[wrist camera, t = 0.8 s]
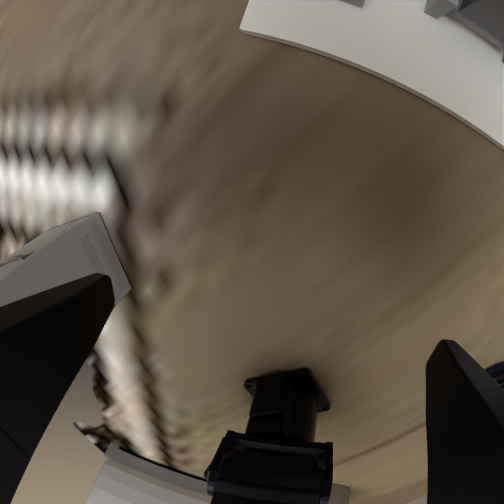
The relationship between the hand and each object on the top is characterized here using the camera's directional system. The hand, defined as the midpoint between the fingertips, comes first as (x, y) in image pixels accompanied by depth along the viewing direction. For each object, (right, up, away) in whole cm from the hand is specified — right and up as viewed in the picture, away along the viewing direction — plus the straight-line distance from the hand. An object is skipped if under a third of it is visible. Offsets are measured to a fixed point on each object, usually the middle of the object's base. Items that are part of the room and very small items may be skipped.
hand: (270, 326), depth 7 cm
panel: (+12, +15, +3) cm, 20 cm away
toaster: (-16, -54, +47) cm, 74 cm away
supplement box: (-15, +2, +17) cm, 23 cm away
